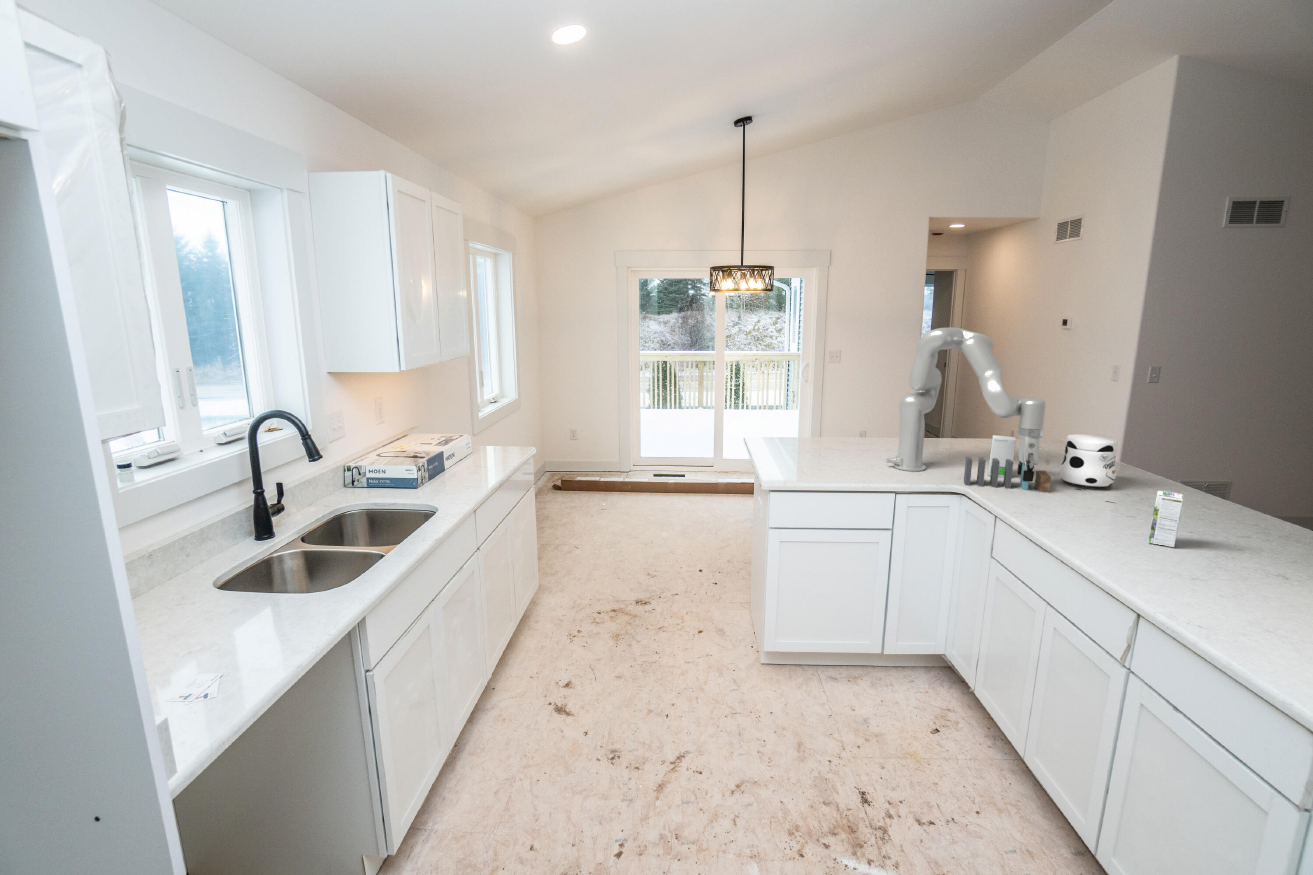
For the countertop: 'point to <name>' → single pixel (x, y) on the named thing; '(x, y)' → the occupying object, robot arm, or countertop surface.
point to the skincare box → (1002, 452)
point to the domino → (1022, 483)
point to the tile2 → (981, 471)
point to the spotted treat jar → (1089, 461)
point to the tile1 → (967, 470)
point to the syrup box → (1166, 518)
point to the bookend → (1042, 481)
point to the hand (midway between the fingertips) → (1024, 477)
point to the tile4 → (1008, 473)
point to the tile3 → (994, 472)
